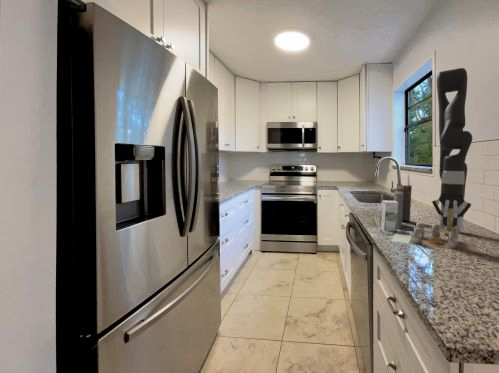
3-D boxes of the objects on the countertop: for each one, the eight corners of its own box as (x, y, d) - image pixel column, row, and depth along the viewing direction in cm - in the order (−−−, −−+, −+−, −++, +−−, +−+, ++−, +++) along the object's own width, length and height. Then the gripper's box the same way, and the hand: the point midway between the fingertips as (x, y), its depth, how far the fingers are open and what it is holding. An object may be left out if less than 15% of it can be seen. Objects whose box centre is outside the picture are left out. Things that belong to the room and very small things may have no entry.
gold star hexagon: (438, 241, 133) (438, 236, 133) (444, 243, 129) (444, 238, 129) (425, 240, 133) (426, 236, 133) (431, 243, 129) (432, 238, 129)
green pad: (411, 237, 143) (412, 235, 143) (408, 245, 129) (408, 243, 129) (395, 235, 146) (396, 233, 146) (390, 243, 132) (390, 241, 132)
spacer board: (473, 244, 132) (475, 227, 131) (477, 255, 118) (478, 236, 117) (412, 237, 143) (412, 221, 143) (408, 245, 129) (409, 228, 128)
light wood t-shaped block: (453, 227, 132) (455, 205, 127) (453, 237, 126) (455, 214, 122) (445, 226, 133) (446, 204, 129) (444, 236, 128) (446, 213, 123)
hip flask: (392, 222, 176) (394, 185, 174) (400, 223, 175) (402, 186, 173) (394, 228, 161) (396, 188, 159) (403, 229, 160) (405, 188, 158)
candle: (408, 222, 176) (411, 186, 174) (394, 221, 180) (396, 185, 178) (410, 220, 183) (412, 185, 181) (396, 219, 186) (398, 184, 185)
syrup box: (392, 229, 159) (393, 200, 158) (396, 232, 153) (398, 201, 152) (380, 229, 159) (381, 199, 158) (384, 231, 154) (385, 201, 152)
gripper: (473, 183, 126) (470, 227, 127) (432, 181, 133) (429, 223, 134) (474, 184, 120) (471, 230, 121) (431, 182, 127) (429, 225, 128)
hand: (449, 226), depth 128 cm, fingers closed on light wood t-shaped block, 2 cm apart
